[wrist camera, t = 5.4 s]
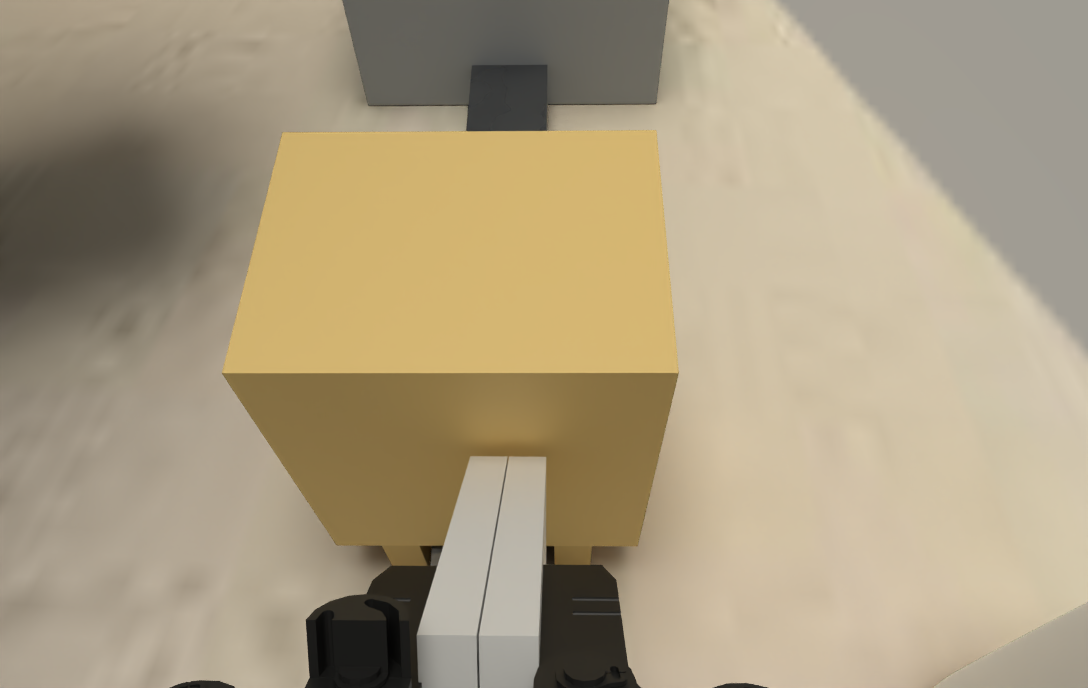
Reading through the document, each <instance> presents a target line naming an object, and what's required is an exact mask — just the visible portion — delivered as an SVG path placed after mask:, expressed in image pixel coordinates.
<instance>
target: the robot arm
mask: <svg viewBox="0 0 1088 688" xmlns="http://www.w3.org/2000/svg"><path fill="white" fill-rule="evenodd" d="M306 629H307V644H308V659H309V674H310V678H309V680H308V682H307V684H306V687H305V688H641V687H640V686H638V684H637V683H636V679H635V677H634V675H633V673H632V671H631V669H630V668H629V667H628V662H627V655H626V647H625V640H624V633H623V626H622V618H621V611H620V604H619V597H618V589H617V582H616V579H615V578H614V577H613V576H612V575H611V574H610V573H609V572H608V571H607V570H606V569H605V568H604V567H603V566H602V565H546V457H515V456H509V460H508V456H470V459H469V463H468V466H467V469H466V473H465V476H464V479H463V482H462V486H461V489H460V492H459V496H458V499H457V502H456V506H455V509H454V512H453V516H452V519H451V522H450V526H449V529H448V532H447V536H446V539H445V542H444V546H443V549H442V552H441V556H440V559H439V562H438V566H390V567H389V568H388V569H387V570H385V571H384V572H383V573H381V574H380V575H379V576H378V577H376V578H375V579H374V580H373V581H372V583H371V585H370V588H369V590H368V592H367V594H364V595H353V596H347V597H344V598H340V599H337V600H333V601H330V602H328V603H326V604H325V605H323V606H321V607H319V608H317V609H316V610H315V611H314V612H313V613H312V614H311V615H310V616H309V617H308V618H307V619H306ZM170 688H235V687H234V686H232V685H229V684H226V683H223V682H220V681H202V680H199V681H191V682H189V683H188V682H186V683H181V684H178V685H175V686H173V687H170ZM714 688H767V687H762V686H759V685H754V684H748V683H730V684H724V685H721V686H717V687H714Z"/></svg>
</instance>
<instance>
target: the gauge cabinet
mask: <svg viewBox="0 0 1088 688" xmlns="http://www.w3.org/2000/svg"><path fill="white" fill-rule="evenodd" d="M342 1H343V5H344V9H345V13H346V17H347V21H348V25H349V29H350V33H351V37H352V41H353V45H354V50H355V54H356V58H357V62H358V66H359V70H360V74H361V78H362V82H363V86H364V90H365V94H366V98H367V102H368V105H469V93H470V81H471V69H472V65H547V74H548V104H656V99H657V91H658V83H659V75H660V67H661V59H662V51H663V43H664V35H665V27H666V19H667V11H668V4H669V0H342Z"/></svg>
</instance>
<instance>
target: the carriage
mask: <svg viewBox="0 0 1088 688" xmlns="http://www.w3.org/2000/svg"><path fill="white" fill-rule="evenodd" d="M222 374H223V376H224V377H225V379H226V380H227V382H228V383H229V385H230V386H231V388H232V389H233V391H234V392H235V394H236V395H237V397H238V398H239V400H240V401H241V403H242V404H243V406H244V407H245V409H246V410H247V412H248V413H249V415H250V416H251V418H252V419H253V421H254V422H255V424H256V425H257V427H258V428H259V430H260V431H261V433H262V434H263V436H264V437H265V439H266V440H267V442H268V443H269V445H270V446H271V448H272V449H273V451H274V452H275V454H276V455H277V457H278V458H279V460H280V461H281V463H282V464H283V466H284V467H285V469H286V470H287V472H288V473H289V475H290V476H291V478H292V479H293V481H294V482H295V484H296V485H297V487H298V488H299V490H300V491H301V493H302V494H303V496H304V497H305V499H306V500H307V502H308V503H309V504H310V506H311V507H312V509H313V510H314V512H315V513H316V515H317V516H318V518H319V519H320V521H321V522H322V524H323V525H324V527H325V528H326V530H327V531H328V533H329V534H330V536H331V537H332V539H333V540H334V542H335V543H336V545H356V546H382V547H383V549H384V551H385V553H386V555H387V556H388V558H389V560H390V562H391V564H392V566H429V563H430V551H431V546H444V542H445V539H446V536H447V532H448V529H449V526H450V522H451V519H452V516H453V512H454V509H455V506H456V502H457V499H458V496H459V492H460V489H461V486H462V482H463V479H464V476H465V473H466V469H467V466H468V463H469V459H470V456H508V460H509V456H515V457H546V546H554V554H555V565H590V562H591V552H592V546H638V542H639V538H640V533H641V529H642V525H643V521H644V517H645V512H646V508H647V504H648V500H649V496H650V491H651V487H652V483H653V479H654V475H655V470H656V466H657V462H658V458H659V454H660V449H661V445H662V441H663V437H664V433H665V428H666V424H667V420H668V416H669V412H670V407H671V403H672V399H673V395H674V391H675V386H676V382H677V378H678V374H679V371H678V360H677V349H676V338H675V327H674V316H673V306H672V295H671V284H670V273H669V262H668V252H667V241H666V230H665V219H664V208H663V197H662V187H661V176H660V165H659V154H658V143H657V132H656V130H624V131H446V132H282V136H281V140H280V144H279V148H278V152H277V156H276V160H275V164H274V168H273V172H272V176H271V180H270V184H269V188H268V192H267V196H266V200H265V204H264V208H263V212H262V216H261V220H260V224H259V228H258V232H257V236H256V240H255V244H254V248H253V252H252V256H251V260H250V264H249V268H248V271H247V275H246V279H245V283H244V287H243V291H242V295H241V299H240V303H239V307H238V311H237V315H236V319H235V323H234V327H233V331H232V335H231V339H230V343H229V347H228V351H227V355H226V359H225V363H224V367H223V371H222Z"/></svg>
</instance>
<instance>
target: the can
mask: <svg viewBox="0 0 1088 688" xmlns="http://www.w3.org/2000/svg"><path fill="white" fill-rule="evenodd" d="M933 688H1088V602H1087V603H1085V604H1083V605H1081V606H1079V607H1077V608H1075V609H1073V610H1071V611H1070V612H1068V613H1066V614H1064V615H1062V616H1060V617H1058V618H1056V619H1054V620H1052V621H1050V622H1048V623H1046V624H1044V625H1043V626H1041V627H1039V628H1037V629H1035V630H1033V631H1031V632H1029V633H1027V634H1025V635H1023V636H1022V637H1020V638H1018V639H1016V640H1014V641H1012V642H1010V643H1008V644H1006V645H1004V646H1002V647H1001V648H999V649H997V650H995V651H993V652H991V653H989V654H987V655H986V656H984V657H982V658H980V659H978V660H976V661H974V662H972V663H971V664H969V665H967V666H965V667H963V668H961V669H960V670H958V671H956V672H954V673H953V674H951V675H950V676H948V677H946V678H945V679H943V680H942V681H941V682H939V683H938V684H937V685H936V686H935V687H933Z"/></svg>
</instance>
